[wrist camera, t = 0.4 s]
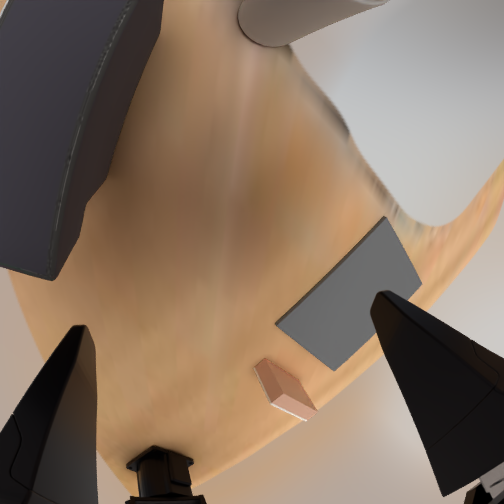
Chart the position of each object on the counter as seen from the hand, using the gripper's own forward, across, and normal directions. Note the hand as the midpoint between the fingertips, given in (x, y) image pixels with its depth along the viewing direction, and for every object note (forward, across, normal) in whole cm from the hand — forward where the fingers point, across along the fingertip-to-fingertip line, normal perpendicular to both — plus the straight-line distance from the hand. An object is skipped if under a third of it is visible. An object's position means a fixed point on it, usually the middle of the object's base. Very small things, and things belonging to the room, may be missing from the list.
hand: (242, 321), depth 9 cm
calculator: (+16, +6, -4) cm, 18 cm away
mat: (+13, -15, +14) cm, 25 cm away
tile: (+11, -7, +21) cm, 25 cm away
